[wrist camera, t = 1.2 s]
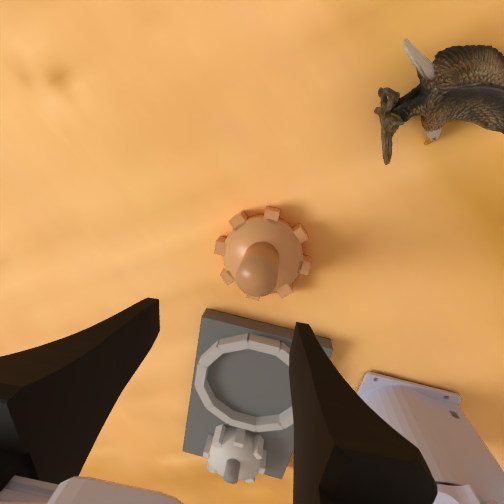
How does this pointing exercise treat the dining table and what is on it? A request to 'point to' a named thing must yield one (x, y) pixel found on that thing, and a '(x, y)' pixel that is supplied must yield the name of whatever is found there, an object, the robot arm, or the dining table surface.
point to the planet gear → (263, 254)
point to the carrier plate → (242, 397)
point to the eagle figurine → (447, 92)
